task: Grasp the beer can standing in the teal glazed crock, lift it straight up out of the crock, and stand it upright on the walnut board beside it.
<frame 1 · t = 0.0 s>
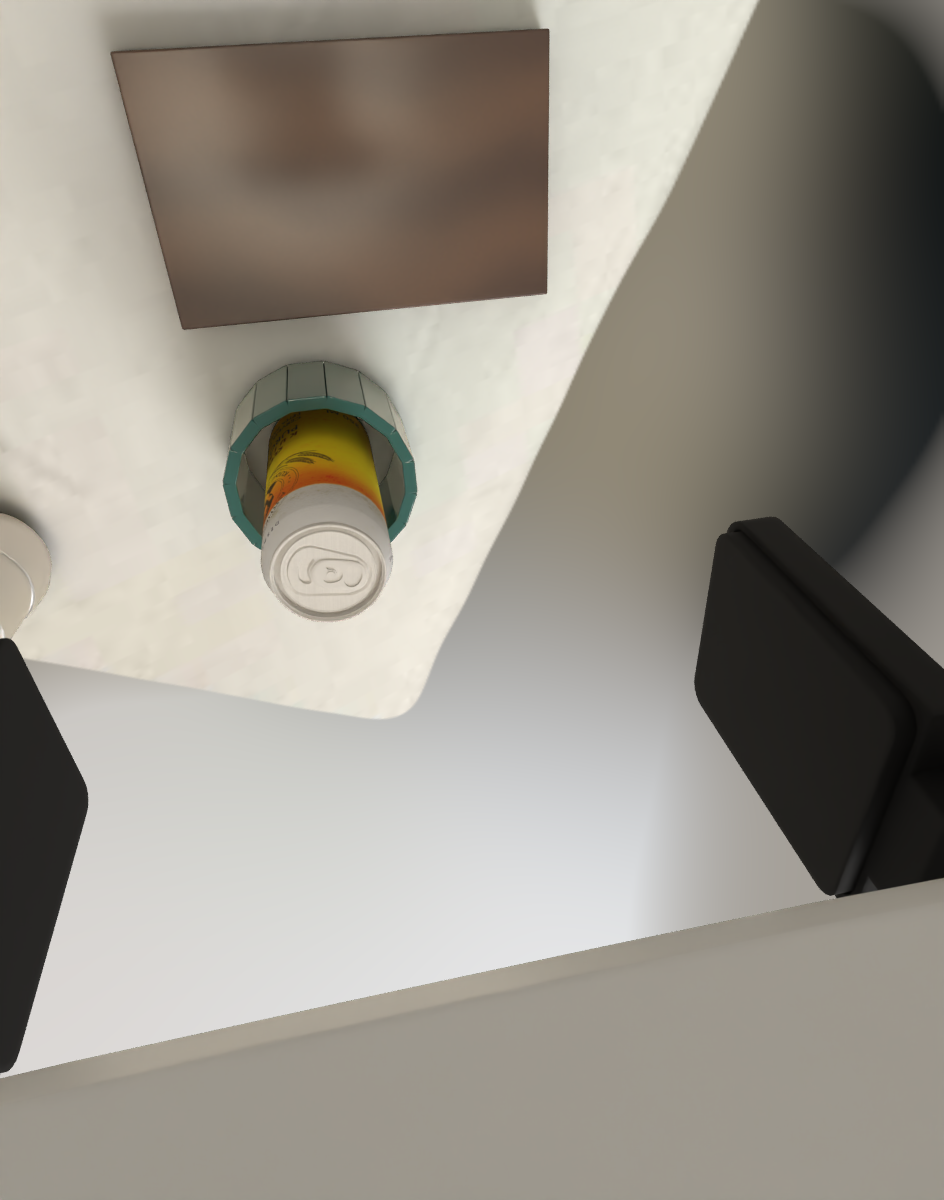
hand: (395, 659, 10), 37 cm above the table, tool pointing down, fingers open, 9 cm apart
crock: (319, 446, 47), on the table
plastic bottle: (3, 545, 47), on the table
beer can: (319, 445, 47), resting in crock
board: (353, 184, 39), on the table
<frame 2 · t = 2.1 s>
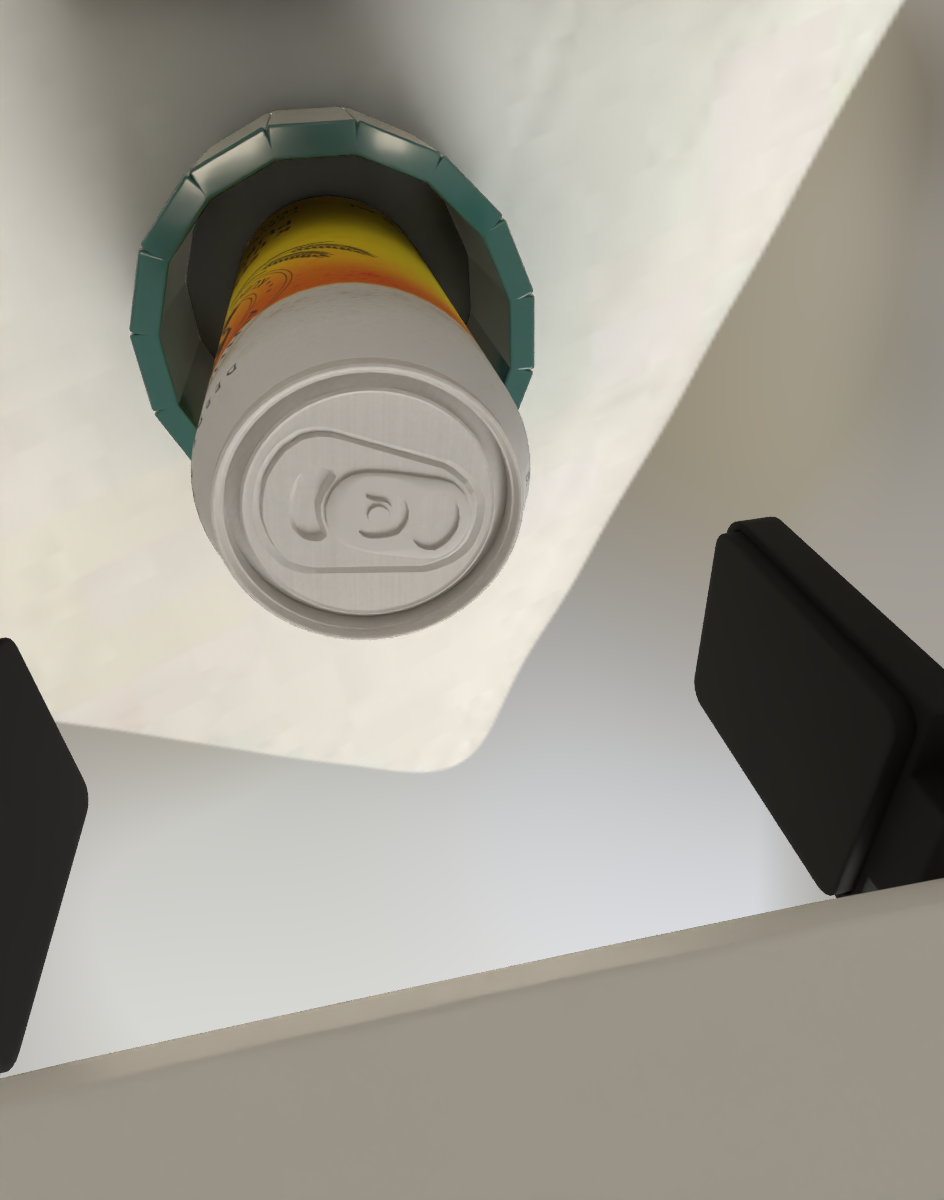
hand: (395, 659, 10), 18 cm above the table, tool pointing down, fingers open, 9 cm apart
crock: (334, 296, 25), on the table
beer can: (334, 295, 25), resting in crock
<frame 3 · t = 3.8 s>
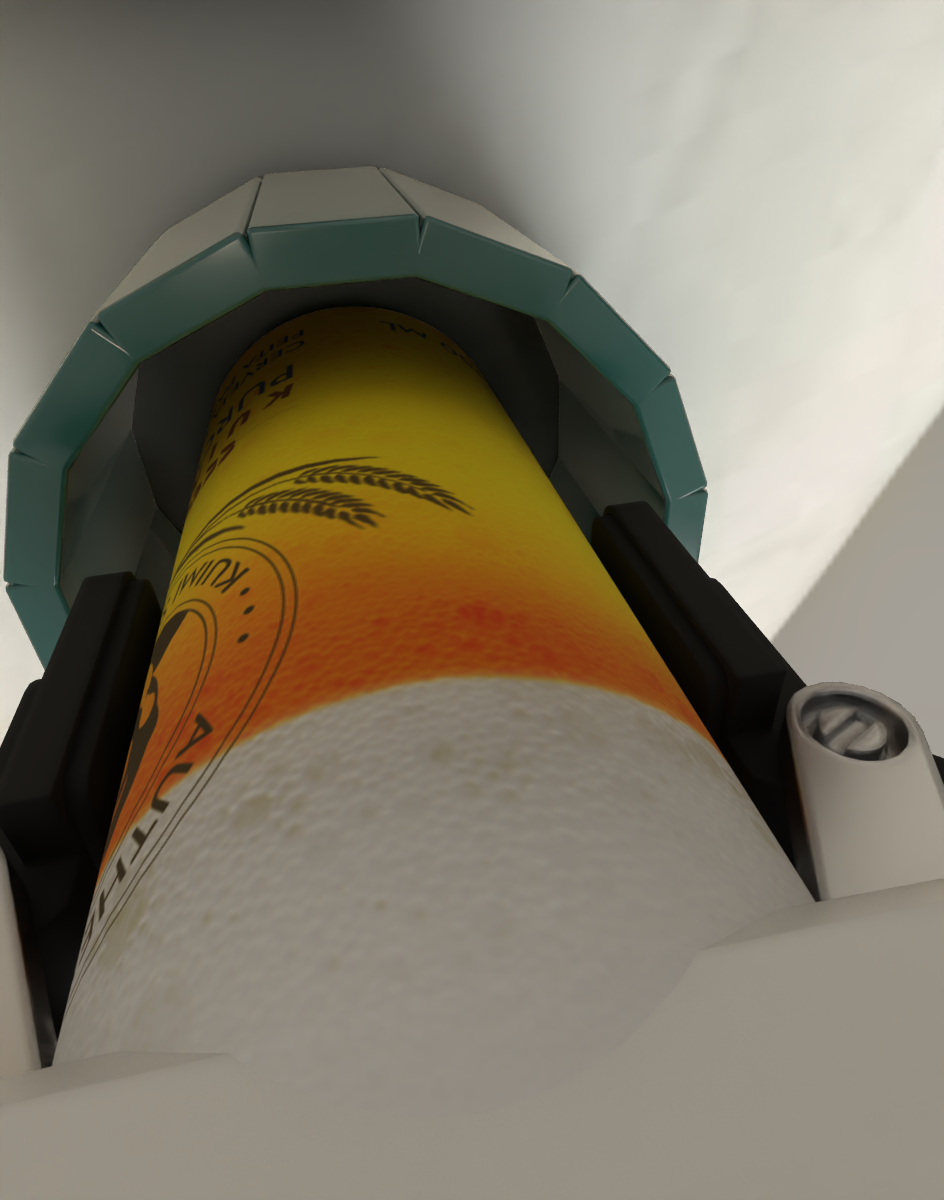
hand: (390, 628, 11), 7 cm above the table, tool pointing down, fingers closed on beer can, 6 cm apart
crock: (358, 441, 17), on the table
beer can: (357, 438, 17), resting in crock, touching gripper
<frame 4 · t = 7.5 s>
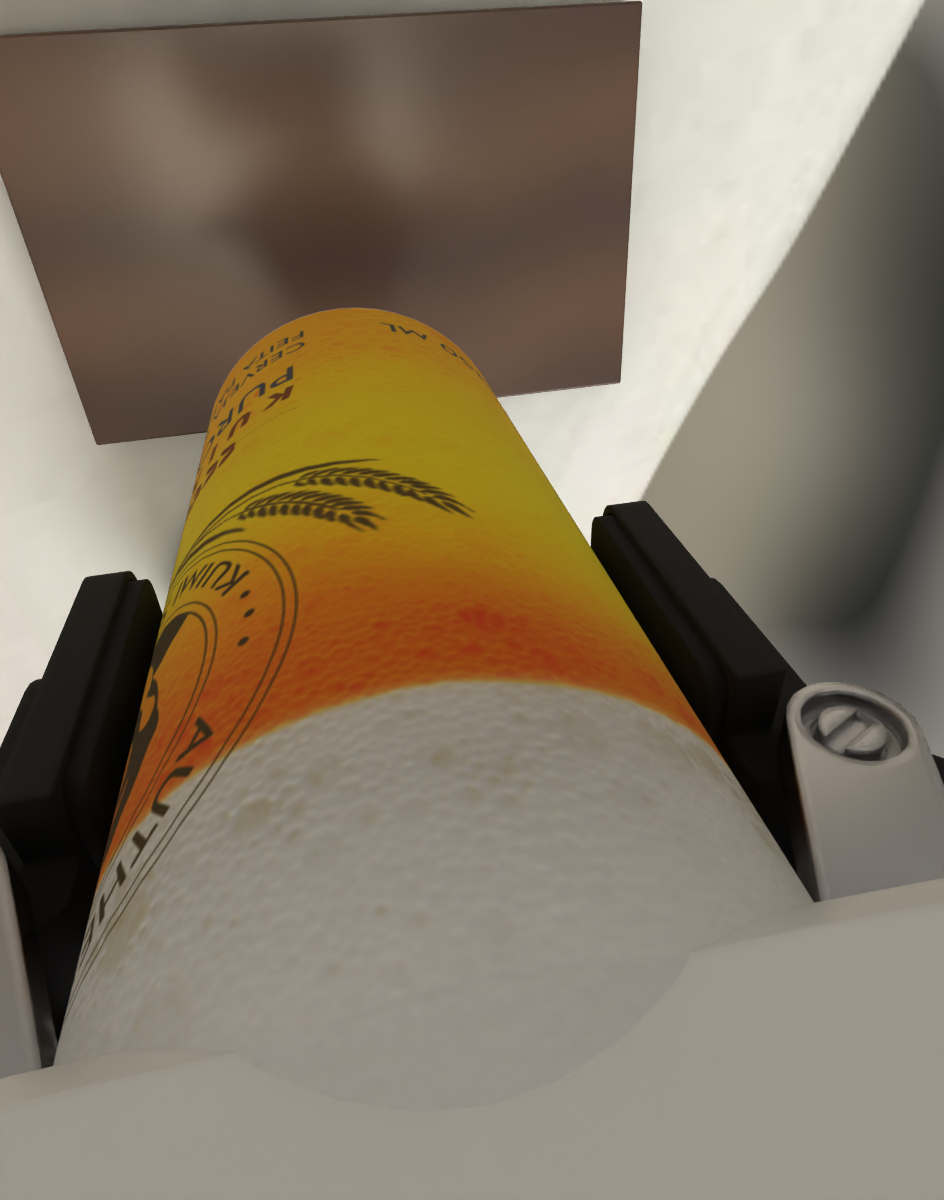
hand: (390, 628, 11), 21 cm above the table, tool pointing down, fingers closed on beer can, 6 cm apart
beer can: (357, 439, 17), point 14 cm above the table, touching gripper
board: (344, 234, 27), on the table
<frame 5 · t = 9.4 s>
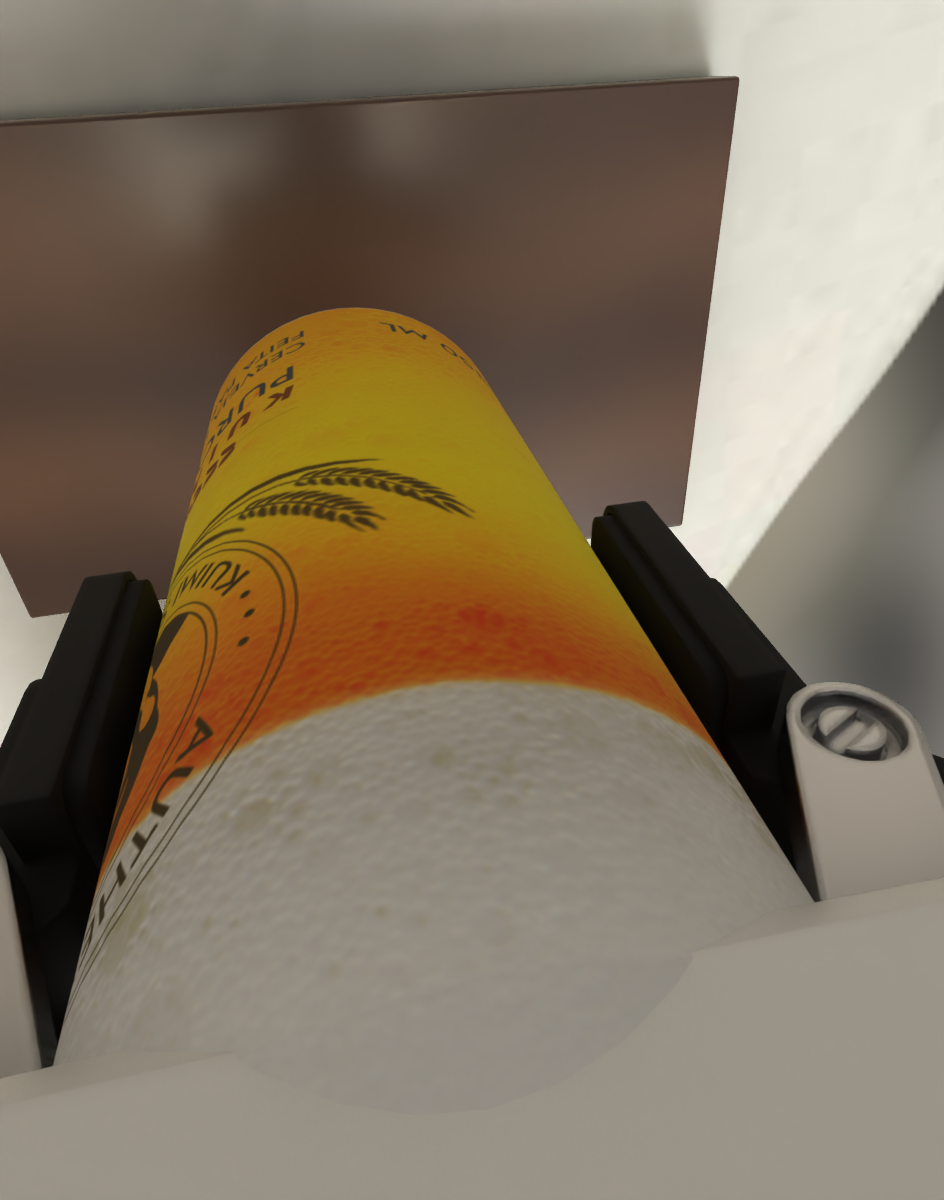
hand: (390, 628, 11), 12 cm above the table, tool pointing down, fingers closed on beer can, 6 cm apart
beer can: (357, 439, 17), point 5 cm above the table, touching gripper
board: (343, 360, 21), on the table
when the fingers open (8 cm above the table, at t = 11.0 s): beer can stays where it is, resting on board.
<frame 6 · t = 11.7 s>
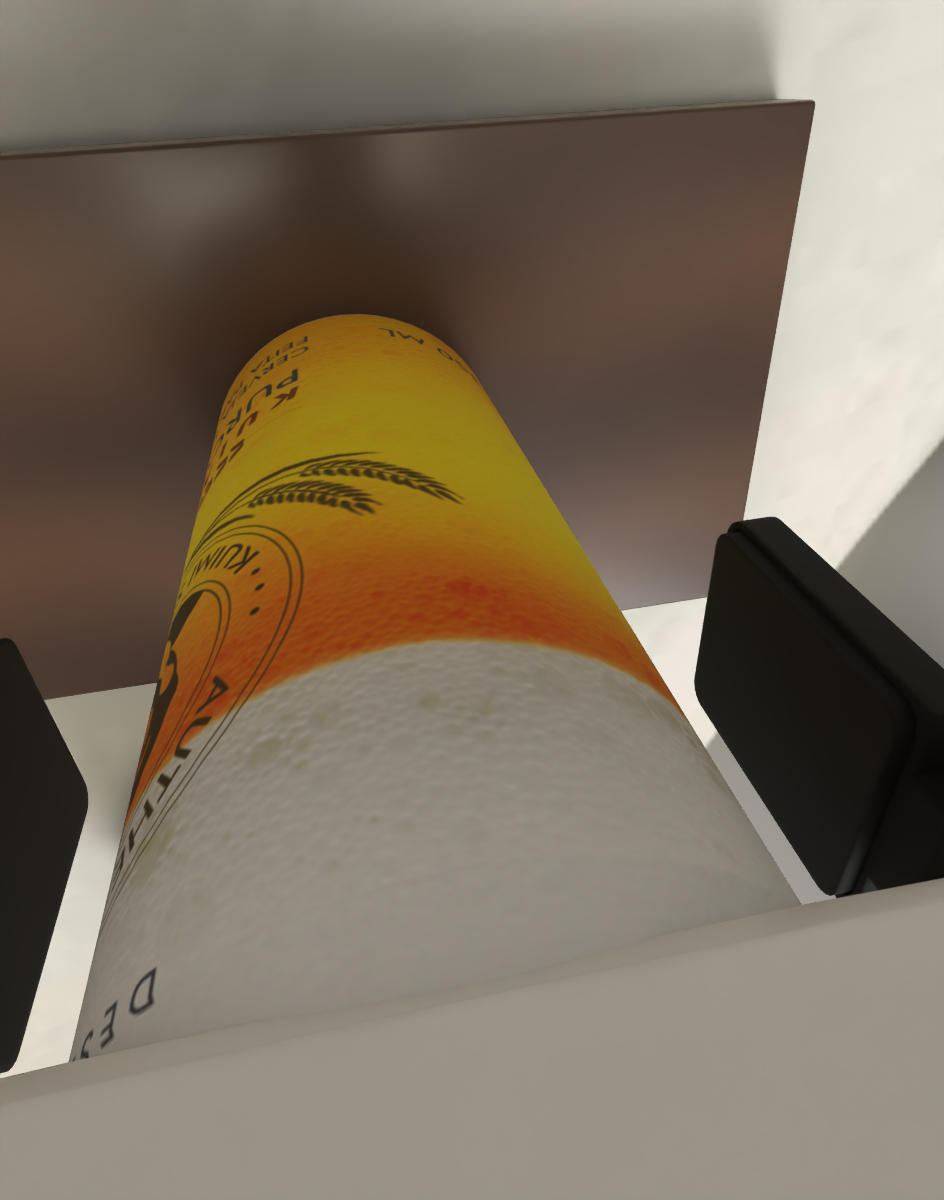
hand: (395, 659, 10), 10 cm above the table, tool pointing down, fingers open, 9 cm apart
beer can: (358, 440, 18), point 1 cm above the table, touching board
board: (354, 418, 19), on the table
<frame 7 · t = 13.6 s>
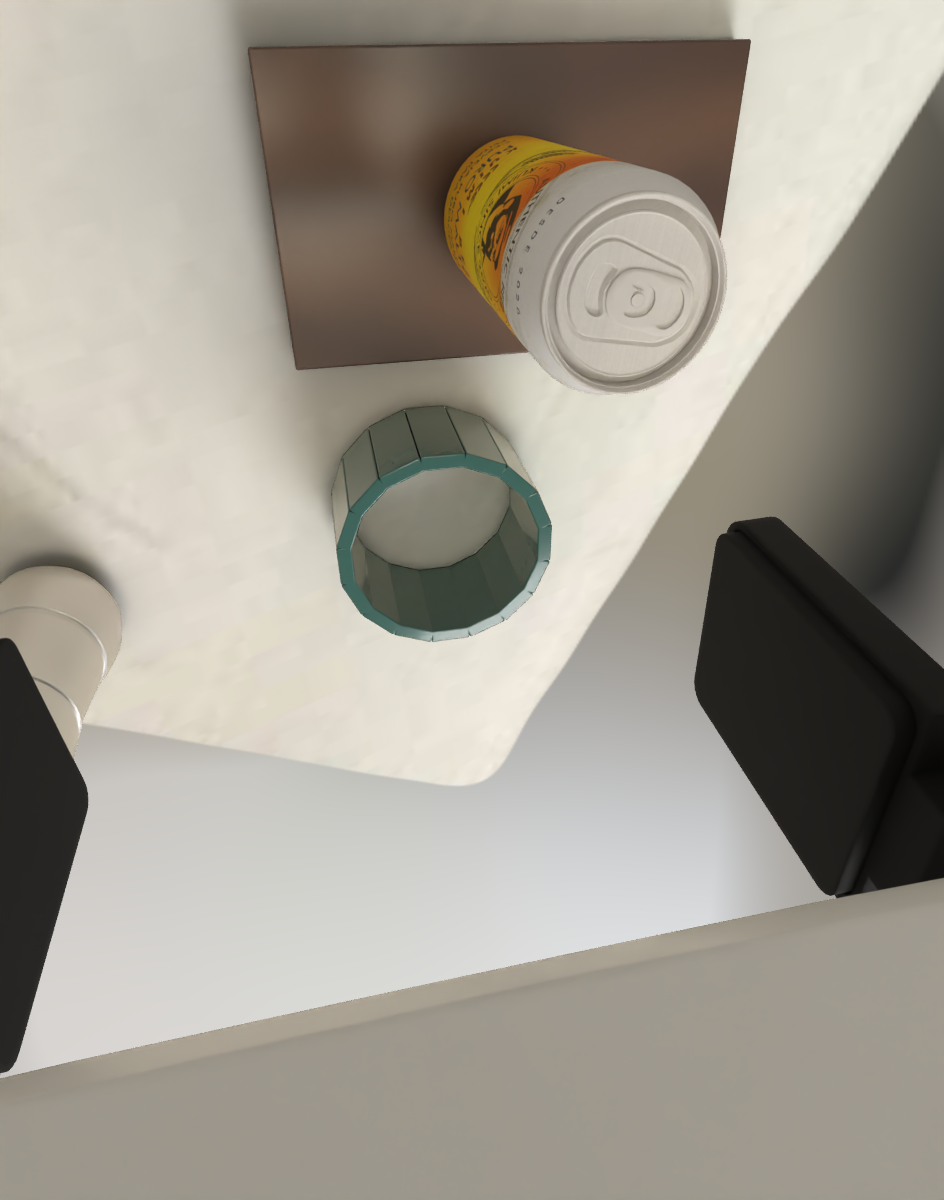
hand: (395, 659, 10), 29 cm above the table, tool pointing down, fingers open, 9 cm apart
crock: (429, 498, 41), on the table
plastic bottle: (66, 601, 41), on the table
beer can: (509, 215, 33), point 1 cm above the table, touching board
board: (502, 209, 34), on the table
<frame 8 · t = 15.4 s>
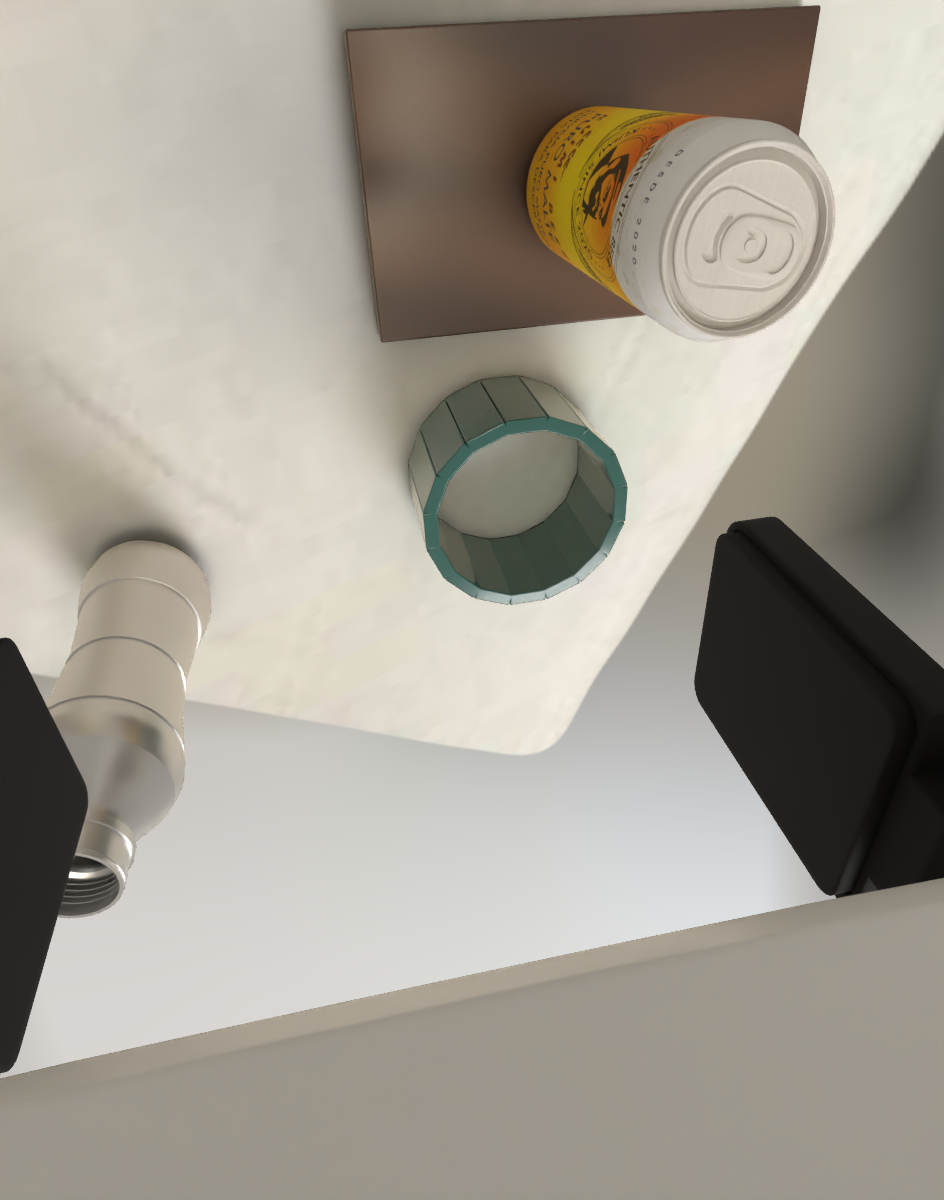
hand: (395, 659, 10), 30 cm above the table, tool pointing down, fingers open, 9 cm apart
crock: (501, 468, 43), on the table
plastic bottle: (155, 576, 43), on the table
beer can: (586, 185, 34), point 1 cm above the table, touching board
board: (577, 181, 35), on the table
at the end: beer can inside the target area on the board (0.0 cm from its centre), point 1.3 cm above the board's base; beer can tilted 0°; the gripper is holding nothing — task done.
